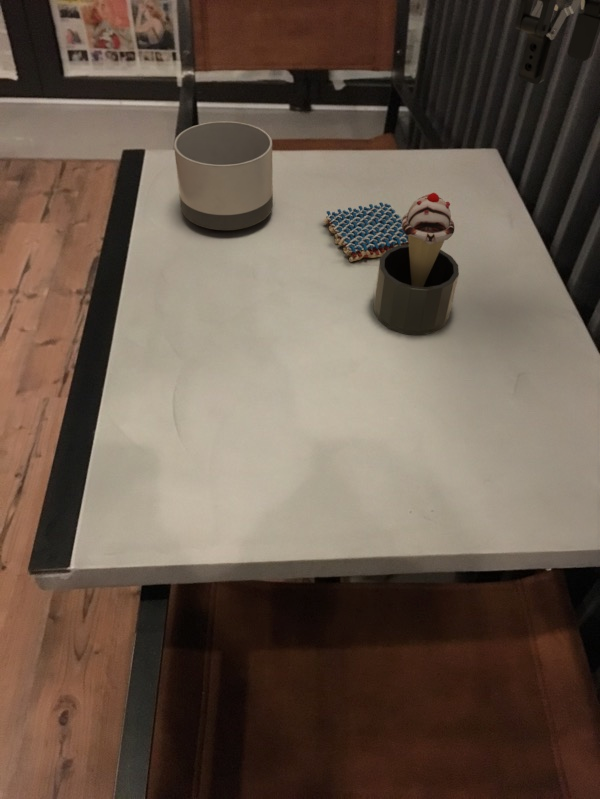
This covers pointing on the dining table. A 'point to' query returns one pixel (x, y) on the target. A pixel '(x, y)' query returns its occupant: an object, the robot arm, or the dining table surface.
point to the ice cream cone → (426, 234)
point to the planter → (224, 174)
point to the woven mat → (367, 230)
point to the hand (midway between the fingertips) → (555, 69)
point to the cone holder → (414, 293)
